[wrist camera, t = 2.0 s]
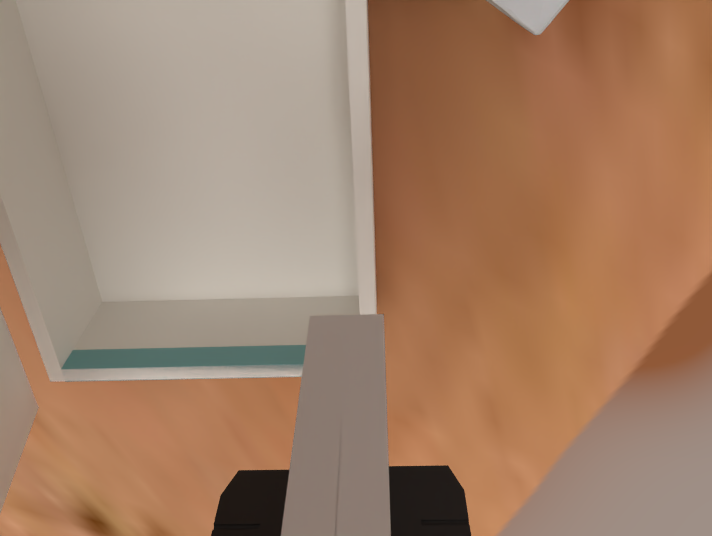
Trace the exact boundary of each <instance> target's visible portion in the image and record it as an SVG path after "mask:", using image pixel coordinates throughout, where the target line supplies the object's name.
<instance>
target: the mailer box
mask: <svg viewBox="0 0 712 536" xmlns="http://www.w3.org/2000/svg"><path fill="white" fill-rule="evenodd" d="M0 244H1V247H2V249H3V252H4V255H5V258H6V260H7V263H8V266H9V269H10V271H11V274H12V277H13V280H14V282H15V285H16V288H17V291H18V293H19V296H20V299H21V302H22V305H23V307H24V310H25V313H26V316H27V318H28V321H29V324H30V327H31V329H32V332H33V335H34V338H35V340H36V343H37V346H38V349H39V351H40V354H41V357H42V360H43V362H44V365H45V368H46V371H47V373H48V376H49V379H50V382H51V381H65V382H70V381H118V380H167V379H216V378H265V377H302V372H303V364H304V356H305V349H306V341H307V334H308V326H309V319H310V316H325V315H367V314H377V292H376V259H375V226H374V193H373V160H372V126H371V93H370V60H369V27H368V0H0Z"/></svg>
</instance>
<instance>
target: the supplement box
mask: <svg viewBox="0 0 712 536" xmlns="http://www.w3.org/2000/svg"><path fill="white" fill-rule="evenodd" d="M486 1H488V2H489V3H490V4H492V5H493V6H494V7H496V8H497V9H499V10H500V11H501V12H503V13H504V14H505V15H507V16H508V17H509V18H511V19H512V20H514V21H515V22H516V23H518V24H519V25H520V26H522V27H523V28H525V29H526V30H528V31H529V32H531V33H532V34H534V35H539V34H541V33H542V32H543V31H544V30H545V29H546V27H547V26H548V25H549V24H550V23H551V22H552V20H553V19H554V18H555V17H556V16H557V14H558V13H559V12H560V11H561V10H562V8H563V7H564V6H565V5H566V4H567V3H568V1H569V0H486Z"/></svg>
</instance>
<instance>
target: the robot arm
mask: <svg viewBox="0 0 712 536" xmlns="http://www.w3.org/2000/svg"><path fill="white" fill-rule="evenodd" d="M211 536H471V532H470V525H469V519H468V512H467V505H466V499H465V492H464V489H463V488H462V486H461V485H460V483H459V482H458V480H457V479H456V477H455V476H454V474H453V473H452V471H451V469H450V468H449V466H389V461H388V430H387V399H386V368H385V337H384V314H367V315H325V316H310V319H309V326H308V334H307V341H306V349H305V356H304V364H303V372H302V379H301V387H300V394H299V402H298V409H297V417H296V424H295V432H294V440H293V447H292V455H291V462H290V470H241V471H238V472H237V474H236V475H235V476H234V478H233V479H232V481H231V482H230V483H229V485H228V486H227V487H226V489H225V490H224V492H223V493H222V494H221V496H220V501H219V505H218V509H217V513H216V517H215V522H214V530H212V534H211Z"/></svg>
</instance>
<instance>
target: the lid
mask: <svg viewBox="0 0 712 536" xmlns="http://www.w3.org/2000/svg"><path fill="white" fill-rule="evenodd" d="M38 408H39V407H38V405H37V402H36V399H35V397H34V394H33V392H32V389H31V386H30V384H29V381H28V379H27V376H26V373H25V371H24V368H23V366H22V363H21V360H20V358H19V355H18V353H17V350H16V347H15V345H14V342H13V340H12V337H11V334H10V332H9V329H8V327H7V324H6V321H5V319H4V316H3V314H2V311H1V308H0V513H1V510H2V507H3V504H4V501H5V499H6V496H7V493H8V490H9V488H10V485H11V482H12V479H13V477H14V474H15V471H16V468H17V466H18V463H19V460H20V457H21V455H22V452H23V449H24V446H25V444H26V441H27V438H28V435H29V432H30V430H31V427H32V424H33V421H34V419H35V416H36V413H37V410H38Z"/></svg>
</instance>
